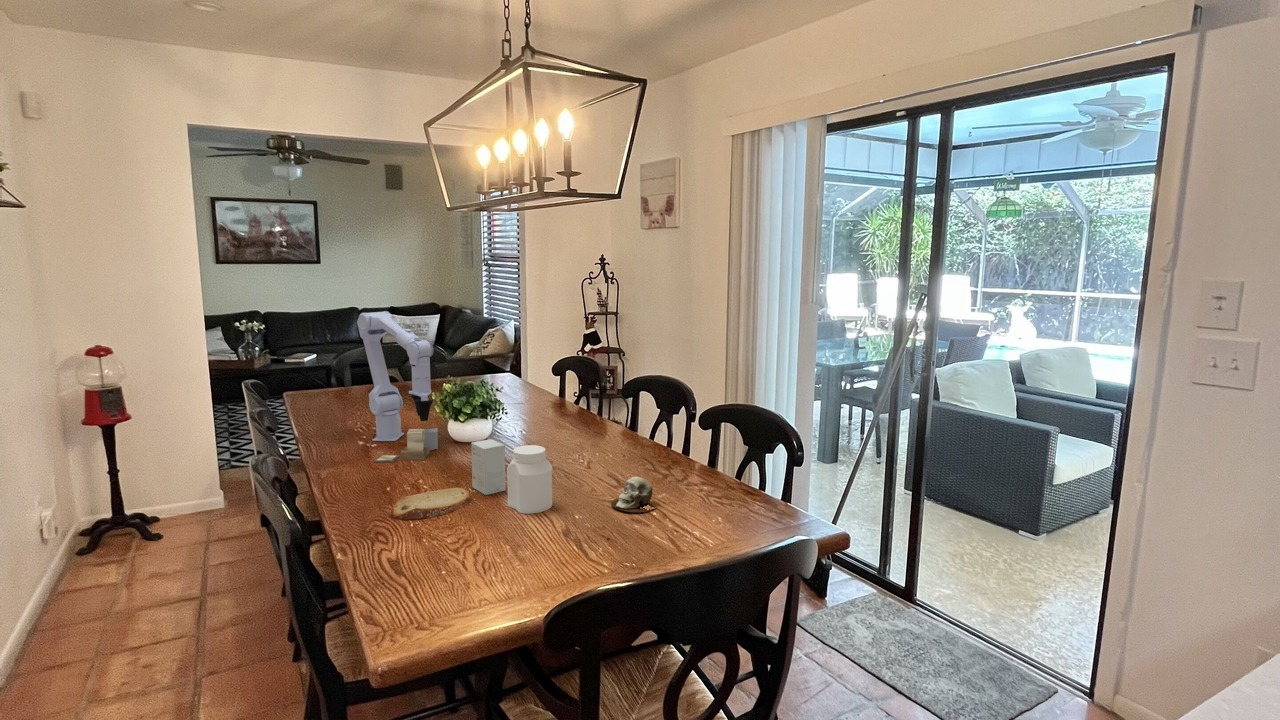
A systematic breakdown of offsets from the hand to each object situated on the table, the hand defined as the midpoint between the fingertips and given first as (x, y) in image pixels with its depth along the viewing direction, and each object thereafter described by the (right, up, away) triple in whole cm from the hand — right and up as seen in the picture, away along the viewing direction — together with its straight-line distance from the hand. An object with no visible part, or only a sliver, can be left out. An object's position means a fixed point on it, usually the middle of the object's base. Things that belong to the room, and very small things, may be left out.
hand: (422, 418), depth 223 cm
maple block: (+1, -9, -8) cm, 12 cm away
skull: (+70, -19, -46) cm, 86 cm away
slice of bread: (+18, -19, -48) cm, 55 cm away
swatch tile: (-8, -12, -10) cm, 18 cm away
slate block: (+2, -10, +3) cm, 11 cm away
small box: (+30, -17, -35) cm, 49 cm away
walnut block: (0, -12, -7) cm, 14 cm away
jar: (+43, -19, -47) cm, 66 cm away
